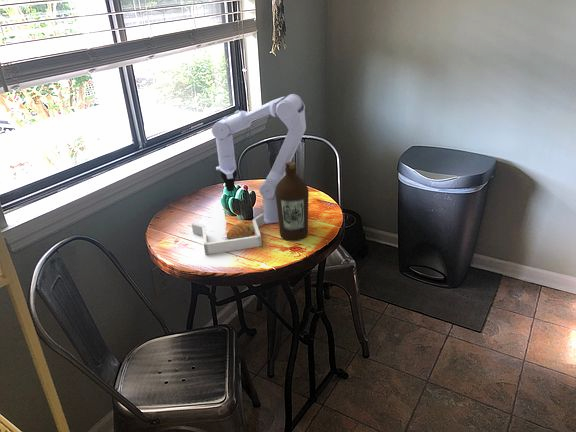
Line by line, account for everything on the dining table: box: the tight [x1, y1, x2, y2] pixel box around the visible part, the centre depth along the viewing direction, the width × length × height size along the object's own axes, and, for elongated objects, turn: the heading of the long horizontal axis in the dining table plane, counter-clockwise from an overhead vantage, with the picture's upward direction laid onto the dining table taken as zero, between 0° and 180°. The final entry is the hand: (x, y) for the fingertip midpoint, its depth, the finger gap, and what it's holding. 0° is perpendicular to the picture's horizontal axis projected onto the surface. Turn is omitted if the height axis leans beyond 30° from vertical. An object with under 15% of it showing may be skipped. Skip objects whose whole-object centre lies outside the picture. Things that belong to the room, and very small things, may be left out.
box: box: [191, 213, 265, 256], centre depth 155 cm, size 25×16×4 cm, turn 102°
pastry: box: [226, 220, 254, 240], centre depth 157 cm, size 9×7×4 cm
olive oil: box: [275, 161, 310, 242], centre depth 150 cm, size 11×11×25 cm
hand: (230, 190), depth 168 cm, fingers closed
